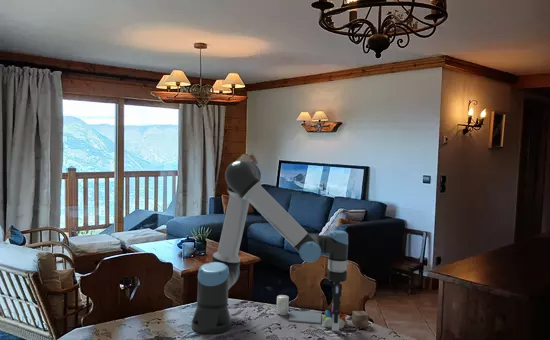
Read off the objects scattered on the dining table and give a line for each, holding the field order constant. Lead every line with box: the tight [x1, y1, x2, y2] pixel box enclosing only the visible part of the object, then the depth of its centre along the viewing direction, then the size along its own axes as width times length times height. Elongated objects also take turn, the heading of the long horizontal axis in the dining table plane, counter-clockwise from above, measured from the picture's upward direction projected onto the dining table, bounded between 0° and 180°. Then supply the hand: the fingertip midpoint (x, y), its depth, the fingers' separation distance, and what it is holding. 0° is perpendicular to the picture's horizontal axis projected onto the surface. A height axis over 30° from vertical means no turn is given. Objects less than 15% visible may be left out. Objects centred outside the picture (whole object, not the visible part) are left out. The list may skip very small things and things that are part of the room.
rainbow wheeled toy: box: [322, 307, 348, 330], centre depth 174 cm, size 8×10×7 cm
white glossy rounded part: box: [276, 294, 290, 316], centre depth 185 cm, size 5×5×7 cm
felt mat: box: [288, 310, 323, 325], centre depth 181 cm, size 13×11×1 cm
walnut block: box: [351, 310, 369, 328], centre depth 175 cm, size 5×5×5 cm
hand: (335, 325), depth 174 cm, fingers open, 11 cm apart
